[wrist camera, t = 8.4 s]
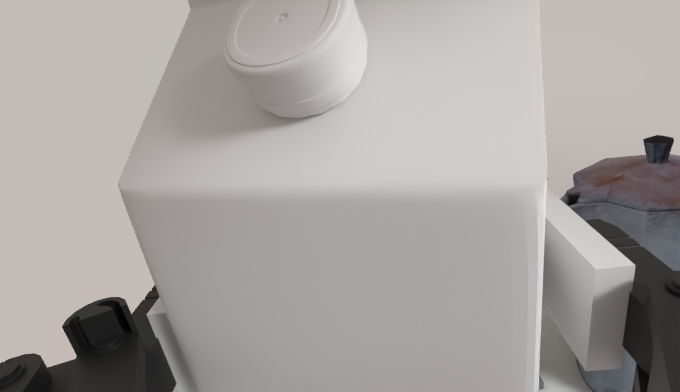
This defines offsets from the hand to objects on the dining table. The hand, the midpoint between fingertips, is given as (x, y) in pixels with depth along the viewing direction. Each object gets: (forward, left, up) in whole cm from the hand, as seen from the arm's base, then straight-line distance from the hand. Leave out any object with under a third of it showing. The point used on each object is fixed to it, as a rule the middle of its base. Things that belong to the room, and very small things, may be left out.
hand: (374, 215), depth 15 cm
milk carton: (0, +5, -11) cm, 12 cm away
